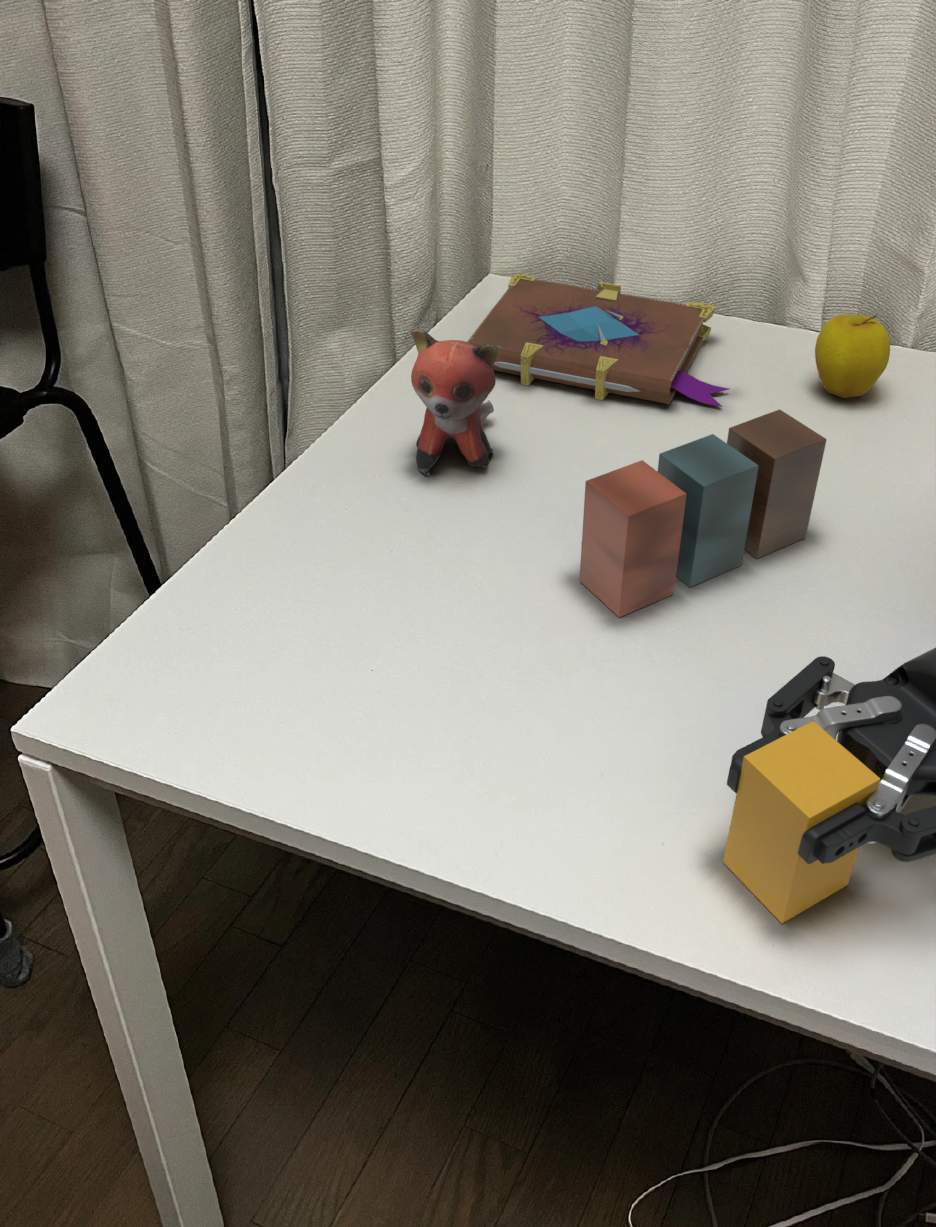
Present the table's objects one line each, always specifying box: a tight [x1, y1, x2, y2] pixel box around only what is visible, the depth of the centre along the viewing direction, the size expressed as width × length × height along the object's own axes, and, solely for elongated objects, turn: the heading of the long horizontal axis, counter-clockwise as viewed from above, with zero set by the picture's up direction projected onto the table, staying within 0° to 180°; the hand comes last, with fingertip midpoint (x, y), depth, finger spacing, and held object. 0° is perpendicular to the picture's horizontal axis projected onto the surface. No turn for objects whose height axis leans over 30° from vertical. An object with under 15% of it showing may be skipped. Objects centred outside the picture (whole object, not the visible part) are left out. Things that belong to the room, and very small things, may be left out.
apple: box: [814, 313, 891, 399], centre depth 107 cm, size 6×6×8 cm
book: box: [466, 273, 730, 408], centre depth 114 cm, size 16×25×5 cm, turn 67°
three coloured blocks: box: [578, 409, 827, 618], centre depth 88 cm, size 18×5×9 cm, turn 121°
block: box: [722, 721, 881, 924], centre depth 66 cm, size 5×5×9 cm
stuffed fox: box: [410, 329, 501, 477], centre depth 99 cm, size 8×11×12 cm
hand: (769, 812), depth 63 cm, fingers closed on block, 5 cm apart
